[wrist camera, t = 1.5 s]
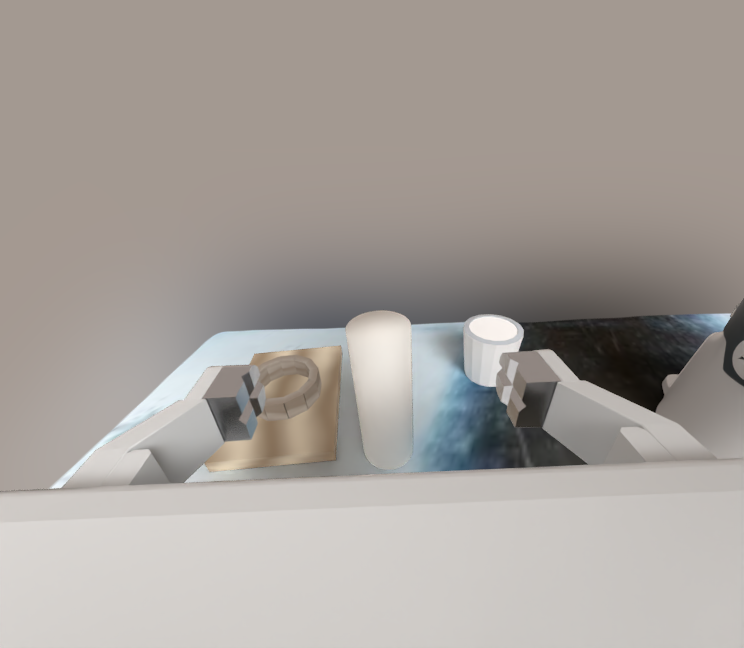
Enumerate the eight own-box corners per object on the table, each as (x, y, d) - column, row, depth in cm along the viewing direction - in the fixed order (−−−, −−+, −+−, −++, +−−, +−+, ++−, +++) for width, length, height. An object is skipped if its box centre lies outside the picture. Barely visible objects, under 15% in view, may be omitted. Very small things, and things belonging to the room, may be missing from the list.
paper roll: (409, 424, 34) (406, 307, 27) (417, 467, 30) (416, 342, 22) (363, 429, 34) (346, 313, 27) (364, 472, 30) (344, 349, 22)
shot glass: (460, 387, 39) (464, 342, 35) (459, 354, 44) (462, 312, 41) (518, 392, 37) (529, 346, 33) (510, 357, 43) (518, 314, 39)
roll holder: (342, 353, 47) (338, 331, 45) (335, 460, 31) (329, 434, 29) (257, 361, 47) (249, 340, 45) (209, 472, 31) (194, 447, 29)
